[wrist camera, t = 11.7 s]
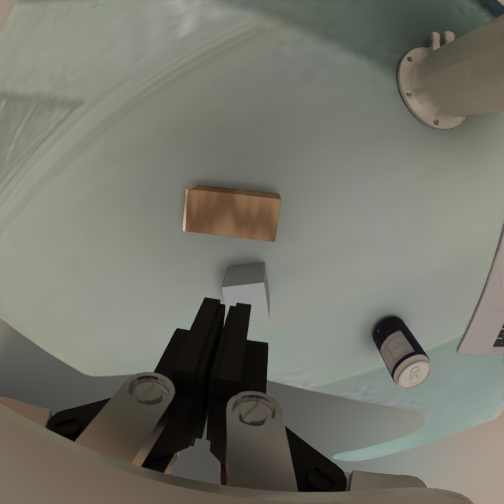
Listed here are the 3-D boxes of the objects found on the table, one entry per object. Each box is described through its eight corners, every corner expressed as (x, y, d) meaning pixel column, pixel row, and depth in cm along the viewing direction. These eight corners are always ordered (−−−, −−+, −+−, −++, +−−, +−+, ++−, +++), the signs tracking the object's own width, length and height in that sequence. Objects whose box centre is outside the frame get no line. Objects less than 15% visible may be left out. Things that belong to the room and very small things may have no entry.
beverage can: (372, 347, 45) (394, 396, 34) (370, 319, 43) (396, 366, 32) (403, 338, 44) (430, 384, 33) (403, 310, 43) (435, 353, 31)
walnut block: (185, 189, 34) (280, 199, 34) (195, 185, 39) (279, 194, 39) (182, 230, 35) (275, 241, 35) (192, 222, 40) (274, 231, 40)
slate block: (228, 266, 42) (221, 287, 35) (264, 261, 41) (263, 282, 35) (234, 298, 43) (229, 323, 37) (269, 294, 43) (269, 319, 36)
